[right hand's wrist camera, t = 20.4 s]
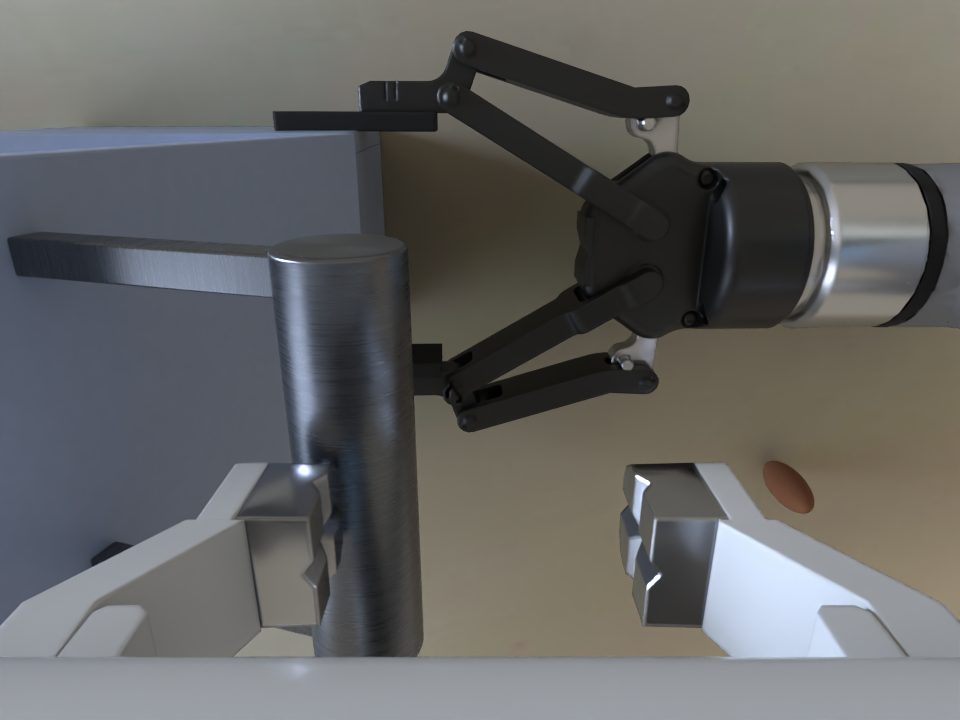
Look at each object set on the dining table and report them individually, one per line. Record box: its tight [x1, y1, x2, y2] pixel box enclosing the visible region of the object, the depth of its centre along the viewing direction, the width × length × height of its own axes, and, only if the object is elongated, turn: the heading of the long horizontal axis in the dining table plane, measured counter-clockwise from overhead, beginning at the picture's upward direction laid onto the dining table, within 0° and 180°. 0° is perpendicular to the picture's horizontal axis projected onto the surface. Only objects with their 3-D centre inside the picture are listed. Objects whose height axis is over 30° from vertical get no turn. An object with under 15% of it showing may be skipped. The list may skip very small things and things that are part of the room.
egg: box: [763, 461, 814, 514], centre depth 40 cm, size 2×2×5 cm
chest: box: [0, 127, 385, 236], centre depth 30 cm, size 15×10×11 cm
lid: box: [0, 133, 423, 657], centre depth 17 cm, size 16×10×8 cm
